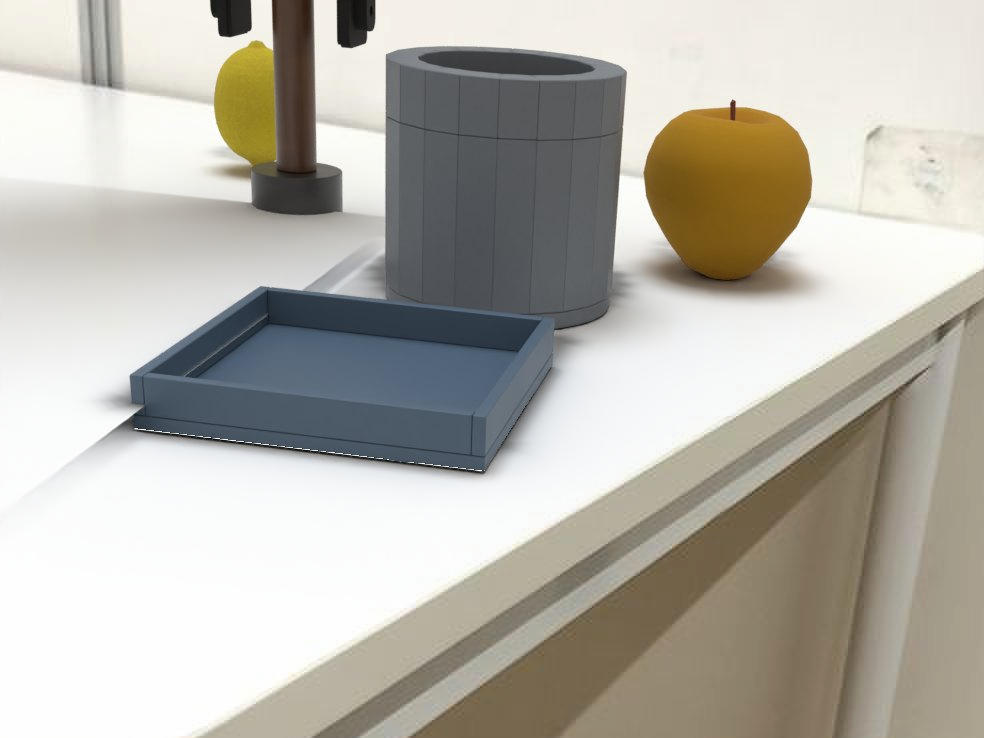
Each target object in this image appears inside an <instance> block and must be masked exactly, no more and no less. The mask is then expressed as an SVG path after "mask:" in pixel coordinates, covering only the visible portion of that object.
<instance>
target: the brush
mask: <svg viewBox="0 0 984 738" xmlns="http://www.w3.org/2000/svg"><path fill="white" fill-rule="evenodd" d="M271 24H272V25H271V26H272V50H273V64H274V99H275V133H276V160H275V161H274V162H266V163H260V164H257V165H254V166H252V165H251V167H250V188H251V205H252V206H253V208H255V209H257V210H260V211H264V212H268V213H272V214H281V215H293V216H314V215H325V214H326V215H327V214H331V213H336V212H337V213H343V212H344V210H343V209H344V207H343V206H344V203H343V201H344V199H343V198H344V197H343V170H342V169H341V168H339V167H337V166H334V165H331V164H328V163H327V164H326V163H323V162H322V163H321V162H317V160H318V159H317V156H318V155H317V152H318V151H317V104H316V101H317V98H316V94H317V93H316V46H315V45H316V41H315V36H316V35H315V0H271Z"/></svg>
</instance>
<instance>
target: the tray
mask: <svg viewBox="0 0 984 738" xmlns="http://www.w3.org/2000/svg"><path fill="white" fill-rule="evenodd" d="M554 325H555V319H554V318H548V317H544V318H543V317H539V316H530V315H521V314H512V313H502V312H493V311H484V310H475V309H466V308H457V307H448V306H439V305H430V304H420V303H411V302H402V301H393V300H388V299H385V298H384V299H382V298H374V297H365V296H364V297H363V296H357V295H355V296H354V295H346V294H337V293H327V292H319V291H311V290H301V289H291V288H282V287H273V286H263V285H260V286H258V287H257V288H255V289H254V290H252V291H251V292H250V293H248V294H247V295H245V296H244V297H242V298H241V299H239V300H237V301H236V302H235V303H233V304H232V305H230V306H229V307H227V308H226V309H225V310H223V311H221V312H220V313H218V314H217V315H215V316H214V317H212V318H211V319H210V320H208V321H207V322H205V323H204V324H202V325H201V326H199V327H198V328H196V329H195V330H193V331H192V332H190V333H189V334H187V335H186V336H185V337H183V338H182V339H180V340H179V341H177V342H176V343H174V344H172V346H170V347H168V348H167V349H165V350H164V351H163V352H161V353H160V354H158V355H157V356H155V357H154V358H152V359H151V360H149V361H148V362H147V363H145V364H143V365H142V366H141V367H139V368H138V369H136V370H135V371H133V372H132V373H130V374H129V386H130V387H129V388H130V398H131V400H130V401H131V404H137V405H144V406H142V407H141V408H140V409H138V410H137V411H136V412H134V413H133V415H132V424H133V429H134V428H138V429H146V430H154V431H162V432H170V433H179V434H187V435H195V436H203V437H211V438H220V439H228V440H236V441H244V442H252V443H261V444H269V445H277V446H285V447H293V448H302V449H310V450H318V451H326V452H335V453H343V454H351V455H359V456H367V457H374V458H383V459H384V460H383V461H385V460H387V459H389V460H394V461H401V462H400V463H402V462H414V463H417V464H416V465H418V463H425V464H433V465H441V466H449V467H458V468H466V469H474V470H482V471H484V470H485V469H486V468H488V467H489V465H490V464H491V462H492V461H493V459H494V458H495V456H496V454H497V453H498V451H499V450H498V449H500V448H501V447H502V445H503V443H504V442H505V440H506V439H507V437H508V435H509V434H510V432H511V431H512V429H513V428H514V426H515V424H516V423H517V421H518V420H519V418H520V417H519V416H521V415H522V413H523V412H524V410H525V409H526V407H527V406H528V404H529V402H530V401H531V399H532V398H533V396H534V395H533V394H535V393H536V391H537V390H538V388H539V387H540V386H541V383H542V382H543V380H544V379H545V378H546V376H547V374H548V373H549V372H550V370H551V368H552V366H553V363H554V361H553V360H554V359H553V358H554V345H555V344H554V343H555V329H554ZM531 397H532V398H531ZM529 400H530V401H529ZM526 405H527V406H526ZM525 406H526V407H525ZM524 408H525V409H524ZM523 409H524V410H523ZM522 411H523V412H522ZM520 414H521V415H520ZM518 417H519V418H518ZM517 419H518V420H517ZM516 420H517V421H516ZM515 422H516V423H515ZM513 425H514V426H513ZM512 427H513V428H512ZM511 428H512V429H511ZM510 430H511V431H510ZM509 431H510V432H509ZM508 433H509V434H508ZM506 436H507V437H506ZM505 438H506V439H505ZM504 439H505V440H504ZM503 441H504V442H503ZM502 442H503V443H502ZM501 444H502V445H501ZM499 447H500V448H499ZM497 450H498V451H497ZM496 452H497V453H496ZM495 453H496V454H495ZM494 455H495V456H494ZM492 458H493V459H492ZM491 460H492V461H491ZM490 461H491V462H490ZM489 463H490V464H489ZM488 464H489V465H488ZM487 466H488V467H487ZM486 470H487V469H486ZM486 470H485V471H486Z"/></svg>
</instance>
